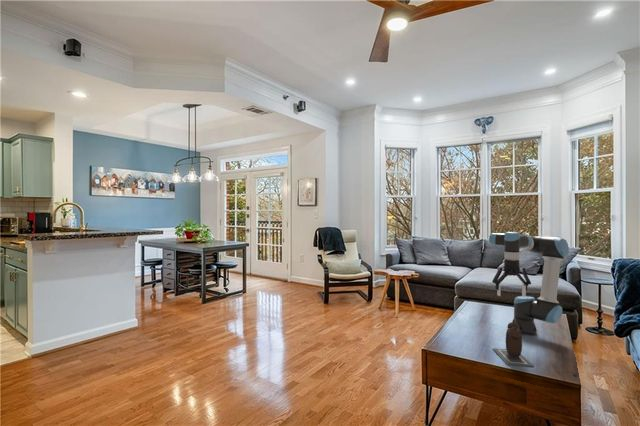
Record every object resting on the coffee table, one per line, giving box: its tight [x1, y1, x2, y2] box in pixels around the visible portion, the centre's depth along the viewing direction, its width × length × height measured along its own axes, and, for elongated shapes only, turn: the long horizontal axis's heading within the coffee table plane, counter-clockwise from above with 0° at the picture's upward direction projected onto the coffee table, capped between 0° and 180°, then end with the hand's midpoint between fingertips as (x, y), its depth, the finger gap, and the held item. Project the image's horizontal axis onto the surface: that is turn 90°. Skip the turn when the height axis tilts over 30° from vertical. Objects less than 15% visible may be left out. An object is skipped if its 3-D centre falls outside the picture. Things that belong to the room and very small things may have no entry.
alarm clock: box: [505, 318, 523, 359], centre depth 183 cm, size 15×7×20 cm, turn 155°
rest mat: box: [492, 348, 535, 368], centre depth 183 cm, size 13×20×1 cm, turn 172°
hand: (511, 296), depth 192 cm, fingers open, 13 cm apart
